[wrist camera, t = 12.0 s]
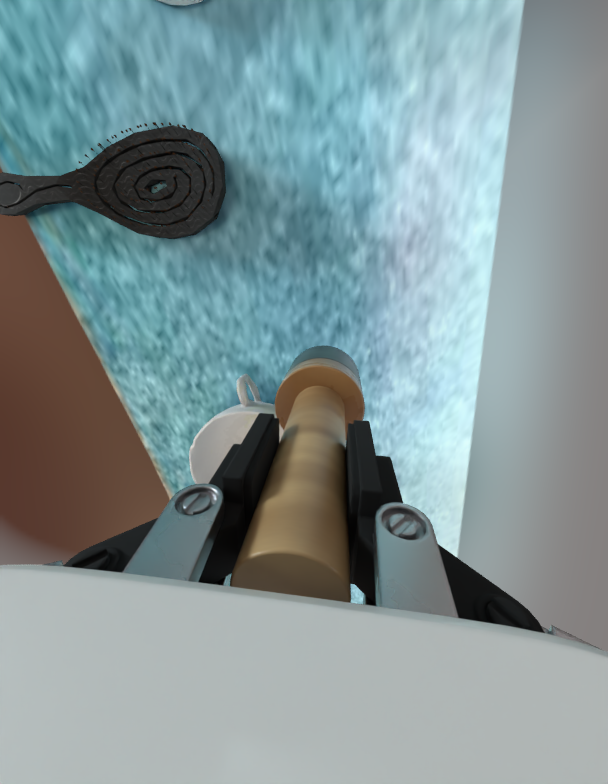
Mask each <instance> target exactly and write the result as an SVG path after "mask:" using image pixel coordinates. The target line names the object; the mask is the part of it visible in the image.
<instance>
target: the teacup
mask: <svg viewBox="0 0 608 784" xmlns="http://www.w3.org/2000/svg"><path fill="white" fill-rule="evenodd" d="M245 382H246V383H247V384H248V385H249V387H250V390H251V392H252V394H253V396H254V399H255V400H254V402H253V401H252V400H249V399H248V396H247V391H246V383H245ZM237 393H238V397H239V400H240V402H241V404H239V405H236V406H233V407H231V408H228V409H226V410H224V411H223V412H221V413H219V414H218V415H216V416H215V417H213V418H212V419H211V420H210V421H208V422H207V423H206V424H205V425H204V426H203V427H202V429H201V430H200V431H199V433H198V434H197V435H196V436H195V438H194V441H193V445H192V446H191V447H190V452H189V461H190V470H191V474H192V477H193V479H194V481H195V483H196V484H203V483H206V484H208V483H209V482H210V480H211V478H212V477H213V475H214V474H215V472H216V471H217V469H218V467H219V466H220V464H221V463H222V461H223V460H224V458H225V456H226V455H227V453H228V452H229V450H230V449H231V447H232V446H233V444H241V443H242V442H243V440H244V438H245V436H246V435H247V433H248V431H249V430H250V428H251V426H252V425H253V423H254V421H255V419H256V418H257V416H258V414H259V413H267V414H274V416H275V418H277V416H276V412H275V405H273V404H270V403H263V402H262V401H261V399H260V396H259V391H258V388H257V386H256V385H255V383H254V382H253V381H252V379H251V378H250V377H249V376H248V375H247V374H244V375H242V376H241V377H240V378H239V379H238V380H237ZM283 432H284V430H283V428H282V427H281V425H280V424H279V443H280V440H281V437H282V435H283Z"/></svg>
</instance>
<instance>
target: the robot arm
mask: <svg viewBox="0 0 608 784" xmlns="http://www.w3.org/2000/svg"><path fill="white" fill-rule="evenodd" d="M157 1H161V2H164V3H167V4H170V5H185V6H186V5H190V4H194V3H199V2H202V1H203V0H157ZM278 446H279V418H275V416H274V414H267V413H259V414H258V416H257V418H256V419H255V421H254V423H253V425H252V426H251V428H250V430H249V431H248V433H247V435H246V436H245V438H244V440H243V442H242V443H241V444H233V446H232V447H231V449H230V450H229V452H228V453H227V455H226V456H225V458H224V460H223V461H222V463H221V464H220V466H219V467H218V469H217V471H216V472H215V474H214V475H213V477H212V478H211V480H210V482H209V483H208V484H206V483H203V484H195V485H191V486H188V487H186V488H183V489H182V490H180V491H179V492H177V493H176V494H175V495H174V496H173V497H172V498H171V500H170V501H169V503H168V505H167V506H166V507H165V509H164V510H163V512H162V513H161V515H160V516H159V518H157V519H154V520H152V521H150V522H147V523H145V524H142V525H140V526H138V527H136V528H133V529H131V530H129V531H126V532H124V533H122V534H119V535H117V536H114V537H112V538H110V539H107V540H105V541H103V542H100V543H98V544H96V545H93V546H91V547H89V548H87V549H85V550H83V551H81V552H80V553H78V554H77V555H75V556H74V557H73V558H71V559H70V560H69V561H68V562H67V563H66V564H65V565H63V563H62V561H57V562H53V563H49V564H44V565H0V784H608V652H606V651H604V650H601V649H599V648H597V647H595V646H593V645H591V644H589V643H587V642H585V641H583V640H581V639H578V638H577V637H575V636H572V635H571V634H569V633H567V632H564V631H562V630H560V629H558V628H556V627H554V626H552V625H551V627H550V629H549V630H547V629H545V628H544V627H542V626H541V625H540V624H539V622H538V621H537V619H535V617H534V616H533V615H532V614H531V613H530V611H529V610H528V609H526V608H525V607H524V606H523V605H522V604H520V603H519V602H518V601H517V600H515V599H514V598H513V597H511V596H510V595H508V594H507V593H506V592H504V591H503V590H501V589H500V588H499V587H497V586H496V585H494V584H493V583H492V582H490V581H489V580H487V579H486V578H485V577H483V576H482V575H480V574H479V573H477V572H476V571H475V570H473V569H472V568H470V567H469V566H468V565H466V564H465V563H463V562H462V561H461V560H459V559H458V558H456V557H455V556H454V555H452V554H451V553H449V552H448V551H447V550H445V549H444V548H442V547H441V546H440V545H438V544H437V540H436V537H435V533H434V530H433V526H432V524H431V522H430V520H429V519H428V518H427V517H426V516H425V514H424V513H422V512H421V511H419V510H418V509H417V508H414V507H412V506H410V505H407V504H403V501H402V497H401V494H400V490H399V487H398V483H397V479H396V476H395V472H394V468H393V465H392V461H391V458H390V457H385V456H376V455H375V449H374V444H373V439H372V434H371V429H370V424H369V421H361V420H354V423H353V424H351V423H348V430H347V441H346V475H347V508H348V531H349V556H350V584H355V585H356V586H357V587H358V588H359V589H360V590H361V591H362V592H363V593H364V598H363V604H356V603H349V602H342V601H334V600H327V599H320V598H312V597H305V596H297V595H290V594H282V593H275V592H268V591H260V590H252V589H245V588H237V587H230V586H229V582H230V574H231V573H232V572H233V569H234V566H235V564H236V561H237V558H238V555H239V553H240V550H241V547H242V544H243V542H244V539H245V536H246V533H247V531H248V528H249V525H250V522H251V520H252V517H253V514H254V511H255V509H256V506H257V503H258V500H259V498H260V495H261V492H262V489H263V487H264V484H265V481H266V478H267V476H268V473H269V470H270V467H271V465H272V462H273V459H274V456H275V454H276V451H277V448H278Z"/></svg>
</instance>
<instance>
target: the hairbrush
mask: <svg viewBox="0 0 608 784" xmlns="http://www.w3.org/2000/svg"><path fill="white" fill-rule="evenodd" d="M144 124H145V123H144ZM153 124H154V125H155V126H157V124H156V123H155V122H154V123H153ZM161 124H162V125H163V123H161ZM169 125H170V126H168V127H163V128H159V127H158V126H157V127H158V128H157V129H152V130H150V129H149V130H147V131H142V132H137V133H133V134H132V135H130V136H128V137H126V138H124V139H122V140H119V141H118V142H116V143H114V144H112V145H110V146H109V147H107V148H106V149H105V150H104V149H103V148H102V147H101V146H102V145H101V144H100V143H98V144H99V145H98V146H100V145H101V146H100V147H101V148H102V149H103V151H102V152H101V153H100V154H99V155H97V156H96V157H95V158H94V159H93V160H92V161H90V162H89V163H88V164H87V165H86V166H84V167H83V168H80V169H77V168H76V170H75V171H72V172H69V173H66V174H64V175H61V176H22V175H16V174H9V173H3V172H2V173H0V214H2V215H8V216H9V215H11V216H18V215H26V214H28V213H30V212H32V211H34V210H36V209H38V208H40V207H42V206H44V205H51V204H58V203H65V202H75V203H78V204H80V205H82V206H84V207H87V208H89V209H91V210H93V211H95V212H98V213H100V214H102V215H104V216H105V217H107V218H109V219H111V220H113V221H115V222H117V223H119V224H121V225H123V226H125V227H127V228H129V229H131V230H133V231H135V232H136V233H139V234H144V235H149V236H154V237H159V238H169V239H176V238H181V237H186V236H191V235H195V234H197V233H199V232H200V231H201V230H202V229H204V228H205V227H206V226H208V225H209V224H210V223H212V222H213V221H214V220H216V219H217V217H218V214H219V211H220V208H221V205H222V203H223V200H224V197H225V194H226V187H225V168H224V162H223V160H222V158H221V156H220V154H219V152H218V151H217V149H216V147H215V146H214V145H213V143H212V142H211V141H210V140H209V139H208V138H207V137H206V136H205V135H204V134H203V133H200V132H196V131H193V129H191V130H188V129H187V128H186V126H185V125H182V126H183V127H184V128H181V127H180V126H179V124H178V125H177V126H178V127H177V126H171V123H169ZM145 126H147V124H145ZM163 126H164V125H163ZM137 127H138V128H139V126H137ZM140 127H142V126H141V125H140ZM185 128H186V129H185ZM129 129H130V131H132V130H131V128H129ZM121 132H122V133H123V131H122V130H121ZM126 132H128V131H127V130H126ZM132 132H133V131H132ZM114 136H115V137H116V138H117V136H116V135H114ZM112 138H114V137H113V136H112ZM107 141H109V140H108V139H107ZM109 142H110V141H109ZM183 142H189V143H191V144H193V145H195V146H197V147H199V148H200V149H201V150H202V151H203V152H204V153H205V155H206V157H207V158H208V159H207V158H206V157H205V155H204V154H203V153H202V152H201V151H200V150H198V149H197V148H196V147H193V146H191V145H188V144H187V143H183ZM91 150H93V149H92V148H91ZM93 151H94V150H93ZM94 152H95V151H94ZM178 154H181V155H184V156H187V157H190V158H193V159H195V160H196V161H197V162H198V163H200V164H201V165H202V166H200V165H199V164H197V163H195V162H194V161H193V160H191V159H188V158H186V157H183V156H180V155H178ZM85 156H86V157H88V156H87V155H86V154H85ZM89 159H90V158H89ZM90 160H91V159H90ZM79 163H81V162H80V161H79ZM179 168H181V169H184V170H185V171H186V173H184V172H182V171H181V170H177V169H179ZM159 181H166V185H167V186H166V187H165V188H163V189H161V190H160V191H158V190H157V189H156V188H157V187H154V189H156V190H157V191H158V192H156V193H155V194H153V193H151V186H152V185H154V184H156V183H157V182H159ZM14 183H18V184H20V185H17V184H14ZM160 184H162V183H161V182H160ZM62 186H70V187H72V188H68V187H62ZM144 198H145V199H147V200H146V201H145V199H144ZM148 200H150V201H151V202H152V201H157V202H152V203H150V202H149V201H148ZM128 204H129V205H130V206H132V207H134V208H136V209H137V210H142V211H147V212H151V213H144V212H139V211H135V210H133V209H132V208H131V207H130V206H129V205H128ZM7 206H8V207H7ZM9 207H10V208H9ZM167 211H168V212H167ZM153 212H154V213H153ZM155 212H163V213H155ZM164 212H165V213H164ZM123 215H125V216H127V217H130V218H133V219H136V220H139V221H142V222H145V223H151V224H157V225H161V226H155V225H146V224H143V223H140V222H137V221H134V220H131V219H128V218H126V217H125V216H123ZM175 223H176V224H175ZM169 224H173V225H169ZM163 225H166V227H163ZM168 225H169V226H168Z"/></svg>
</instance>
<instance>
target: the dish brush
mask: <svg viewBox="0 0 608 784" xmlns="http://www.w3.org/2000/svg"><path fill="white" fill-rule="evenodd" d="M364 411H365V404H364V398H363V393H362V388H361V382H360V377H359V372H358V369H357V366H356V364H355V363H354V361H353V360H352V359H351V357H350V356H349V355H347V354H346V353H345V352H343V351H342V350H340V349H338V348H335V347H331V346H316V347H312V348H309V349H307V350H305V351H304V352H302V353H301V354H300V355H299V356H297V358H296V359H295V360H294V362H293V363H292V365H291V367H290V369H289V370H288V372H287V374H286V376H285V378H284V380H283V381H282V383H281V385H280V387H279V389H278V391H277V394H276V398H275V412H276V416H277V418H279V424H280V425H281V427H282V428H283V430H284V432H283V435H282V437H281V440H280V443H279V446H278V448H277V451H276V454H275V456H274V459H273V462H272V465H271V467H270V470H269V473H268V476H267V478H266V481H265V484H264V487H263V489H262V492H261V495H260V498H259V500H258V503H257V506H256V509H255V511H254V514H253V517H252V520H251V522H250V525H249V528H248V531H247V533H246V536H245V539H244V542H243V544H242V547H241V550H240V553H239V555H238V558H237V561H236V564H235V566H234V569H233V572H232V575H231V579H230V587H237V588H245V589H252V590H260V591H268V592H275V593H282V594H290V595H297V596H305V597H312V598H320V599H327V600H334V601H342V602H349V603H351V587H350V556H349V531H348V508H347V475H346V440H347V430H348V423H351V424H353V423H354V420H361V421H362V420H363V417H364Z"/></svg>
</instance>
